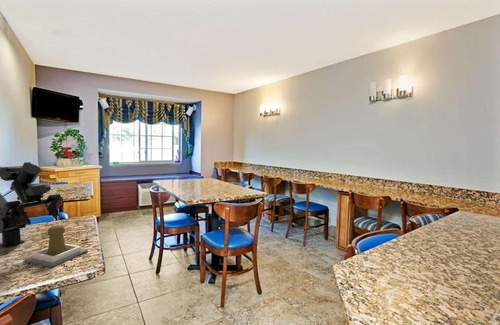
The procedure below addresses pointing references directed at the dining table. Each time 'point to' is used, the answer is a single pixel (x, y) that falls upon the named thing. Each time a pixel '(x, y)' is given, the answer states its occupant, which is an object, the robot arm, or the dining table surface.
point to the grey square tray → (51, 261)
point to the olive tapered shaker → (56, 240)
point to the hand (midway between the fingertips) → (43, 220)
